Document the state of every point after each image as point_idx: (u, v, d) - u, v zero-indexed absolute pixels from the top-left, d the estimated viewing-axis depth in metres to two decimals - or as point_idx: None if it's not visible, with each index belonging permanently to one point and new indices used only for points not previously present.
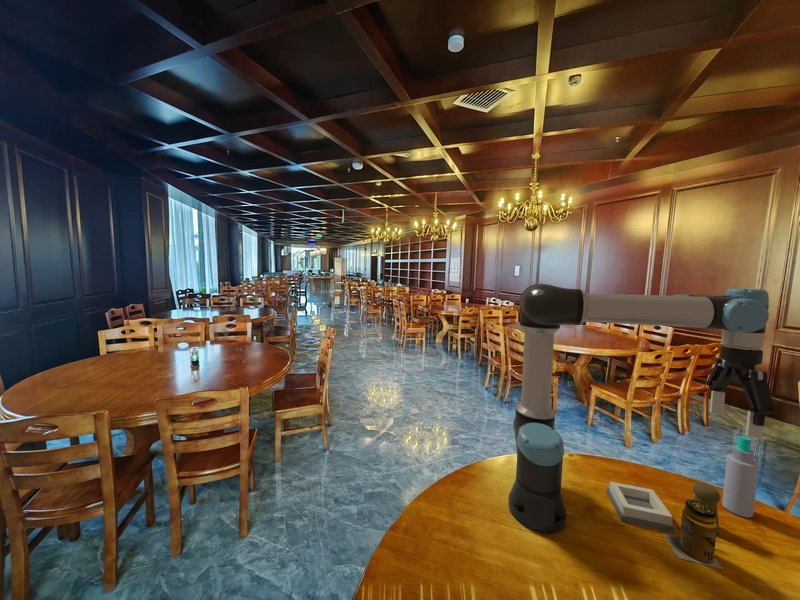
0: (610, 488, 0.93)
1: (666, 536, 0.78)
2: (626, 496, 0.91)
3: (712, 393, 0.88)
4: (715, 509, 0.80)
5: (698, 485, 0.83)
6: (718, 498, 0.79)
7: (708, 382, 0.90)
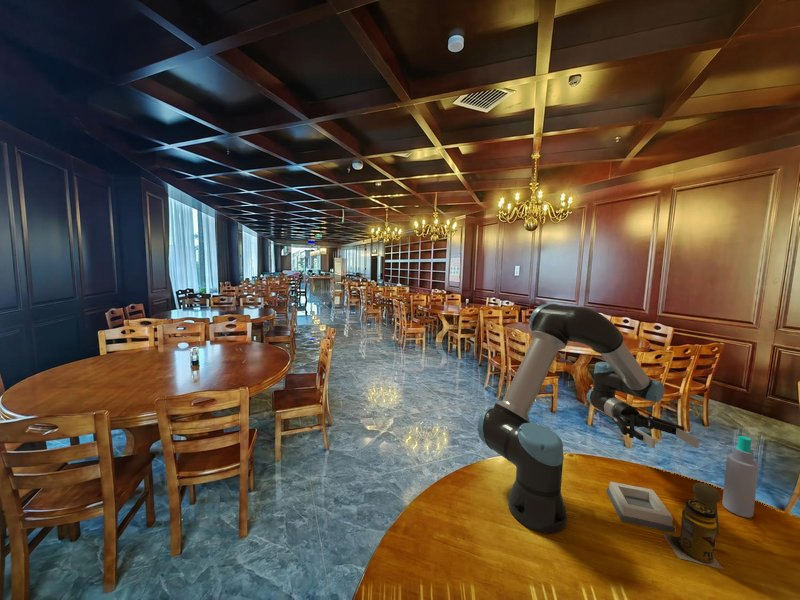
0: (610, 488, 0.93)
1: (666, 536, 0.78)
2: (626, 496, 0.91)
3: (638, 429, 0.96)
4: (715, 509, 0.80)
5: (698, 485, 0.83)
6: (718, 498, 0.79)
7: (625, 426, 0.99)
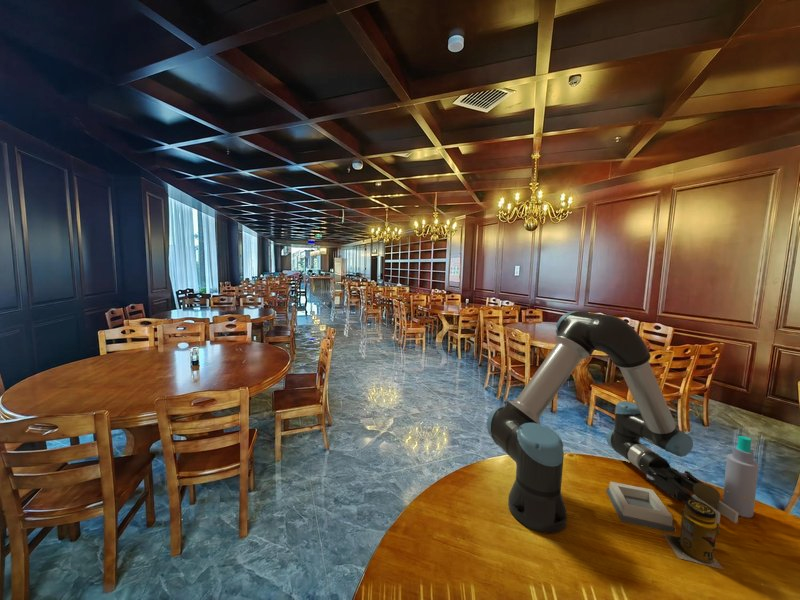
0: (610, 488, 0.93)
1: (666, 536, 0.78)
2: (626, 496, 0.91)
3: (696, 496, 0.82)
4: (715, 509, 0.80)
5: (698, 485, 0.83)
6: (718, 498, 0.79)
7: (677, 490, 0.85)
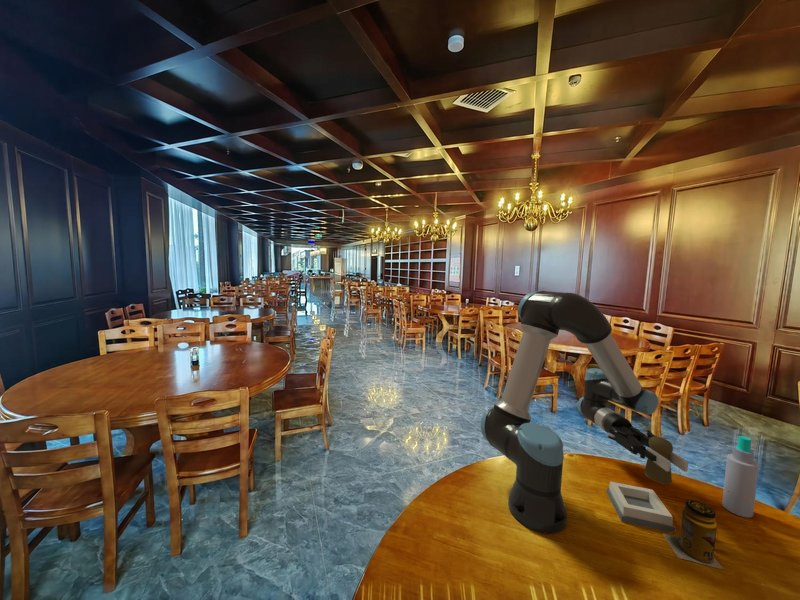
0: (610, 488, 0.93)
1: (666, 536, 0.78)
2: (626, 496, 0.91)
3: (650, 449, 0.85)
4: None
5: (652, 438, 0.85)
6: (670, 449, 0.82)
7: (633, 444, 0.88)
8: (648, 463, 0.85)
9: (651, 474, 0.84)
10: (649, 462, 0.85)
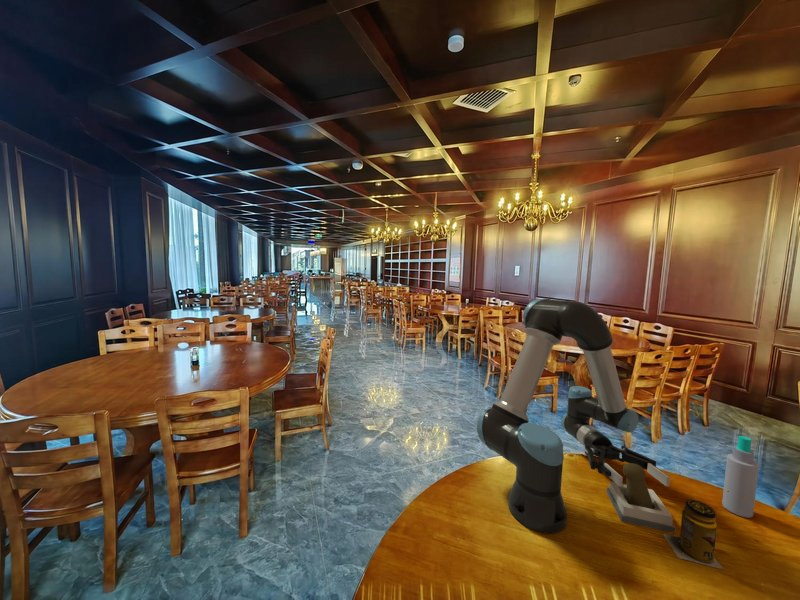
0: (610, 488, 0.93)
1: (666, 536, 0.78)
2: (626, 496, 0.91)
3: (606, 464, 0.91)
4: (643, 486, 0.85)
5: (625, 466, 0.88)
6: (642, 476, 0.85)
7: (593, 459, 0.93)
8: (627, 491, 0.88)
9: (631, 502, 0.87)
10: (628, 490, 0.88)
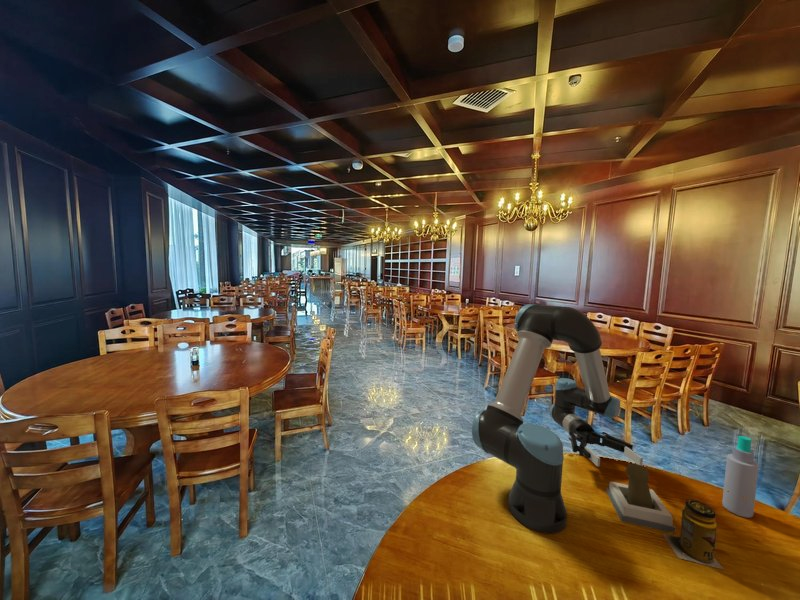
0: (610, 488, 0.93)
1: (666, 536, 0.78)
2: (626, 496, 0.91)
3: (587, 447, 1.00)
4: (645, 487, 0.85)
5: (629, 465, 0.88)
6: (645, 477, 0.85)
7: (575, 443, 1.02)
8: (628, 490, 0.88)
9: (631, 502, 0.87)
10: (629, 490, 0.88)
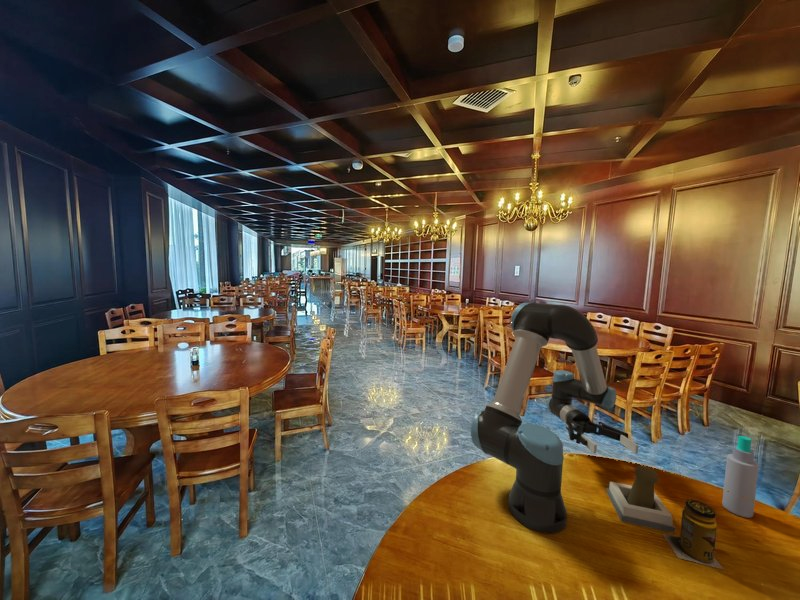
0: (610, 488, 0.93)
1: (666, 536, 0.78)
2: (626, 496, 0.91)
3: (584, 435, 1.02)
4: (651, 490, 0.84)
5: (639, 467, 0.87)
6: (654, 480, 0.84)
7: (572, 432, 1.04)
8: (632, 490, 0.88)
9: (632, 501, 0.87)
10: (633, 489, 0.87)
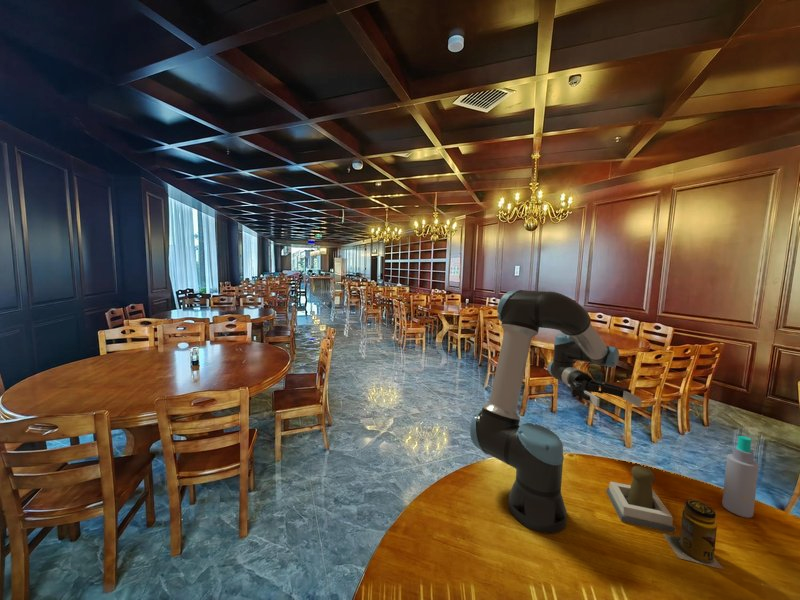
0: (610, 488, 0.93)
1: (666, 536, 0.78)
2: (626, 496, 0.91)
3: (586, 391, 1.00)
4: (648, 490, 0.85)
5: (635, 467, 0.88)
6: (650, 479, 0.84)
7: (574, 389, 1.03)
8: (630, 490, 0.88)
9: (631, 501, 0.87)
10: (631, 490, 0.88)
